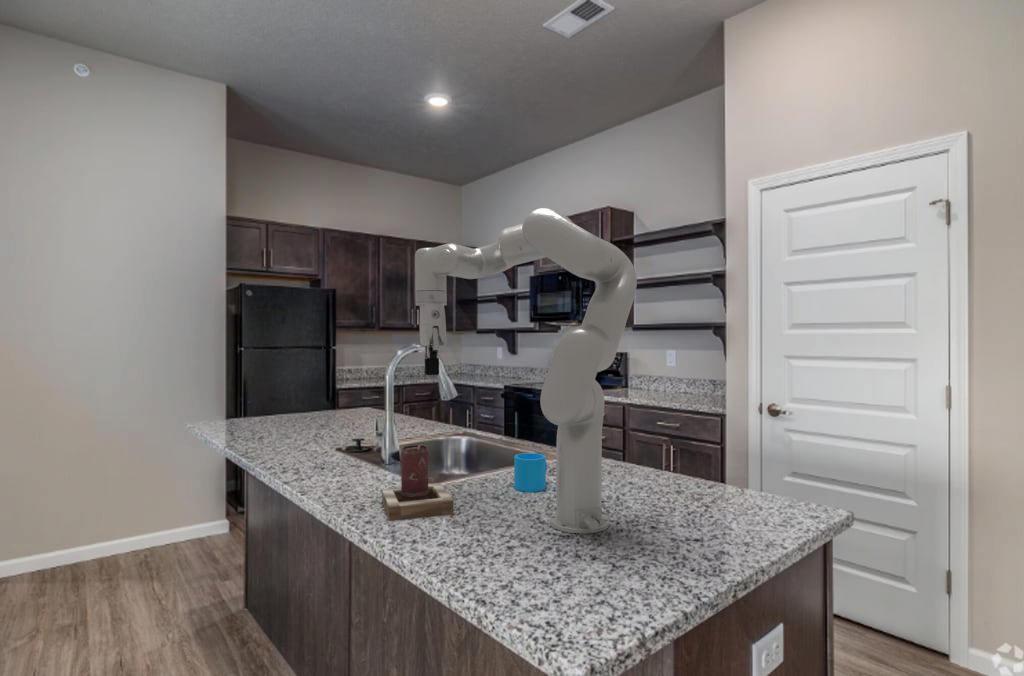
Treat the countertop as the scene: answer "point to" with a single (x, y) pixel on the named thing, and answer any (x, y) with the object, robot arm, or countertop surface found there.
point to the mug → (530, 472)
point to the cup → (414, 473)
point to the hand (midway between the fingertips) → (432, 374)
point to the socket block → (417, 504)
